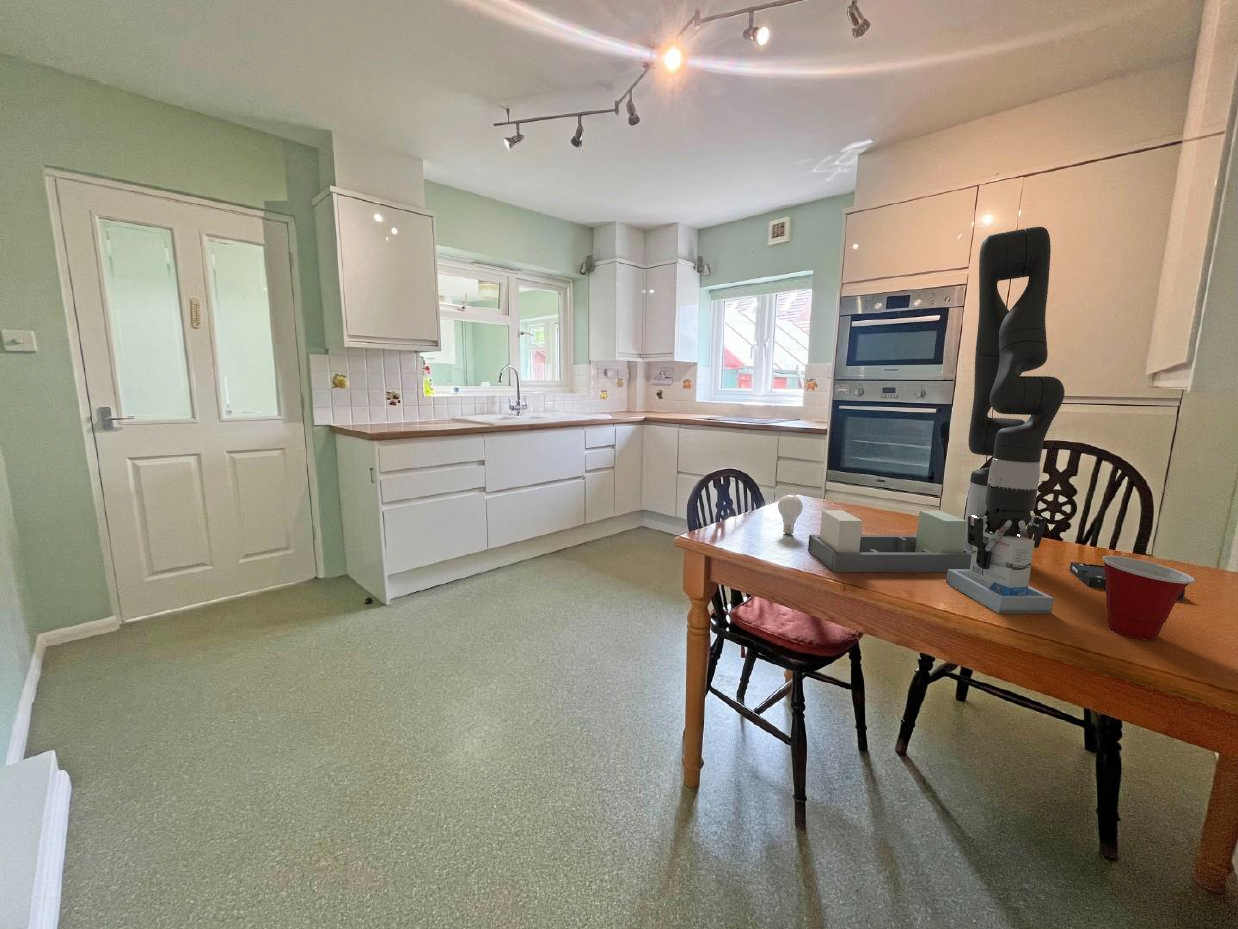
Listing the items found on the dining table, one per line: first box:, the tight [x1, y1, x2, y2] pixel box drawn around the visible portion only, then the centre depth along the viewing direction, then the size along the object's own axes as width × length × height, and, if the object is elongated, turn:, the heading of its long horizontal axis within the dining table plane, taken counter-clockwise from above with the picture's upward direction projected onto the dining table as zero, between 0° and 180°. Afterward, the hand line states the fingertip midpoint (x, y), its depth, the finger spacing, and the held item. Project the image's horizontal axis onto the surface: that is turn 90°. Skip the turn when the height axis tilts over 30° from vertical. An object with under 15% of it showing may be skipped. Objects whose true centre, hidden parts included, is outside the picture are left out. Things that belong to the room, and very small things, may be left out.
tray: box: [945, 569, 1055, 615], centre depth 98 cm, size 10×14×3 cm
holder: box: [807, 534, 972, 573], centre depth 117 cm, size 32×14×4 cm, turn 93°
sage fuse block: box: [915, 510, 967, 552], centre depth 117 cm, size 5×9×11 cm, turn 3°
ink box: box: [969, 532, 1035, 596], centre depth 98 cm, size 8×5×12 cm, turn 12°
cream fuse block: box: [819, 509, 863, 552], centre depth 116 cm, size 5×9×11 cm, turn 3°
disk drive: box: [1069, 561, 1186, 601], centre depth 106 cm, size 10×3×15 cm
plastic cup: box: [1101, 555, 1195, 641], centre depth 84 cm, size 11×11×12 cm
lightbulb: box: [777, 494, 804, 535], centre depth 136 cm, size 6×6×11 cm
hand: (999, 567), depth 98 cm, fingers open, 6 cm apart
